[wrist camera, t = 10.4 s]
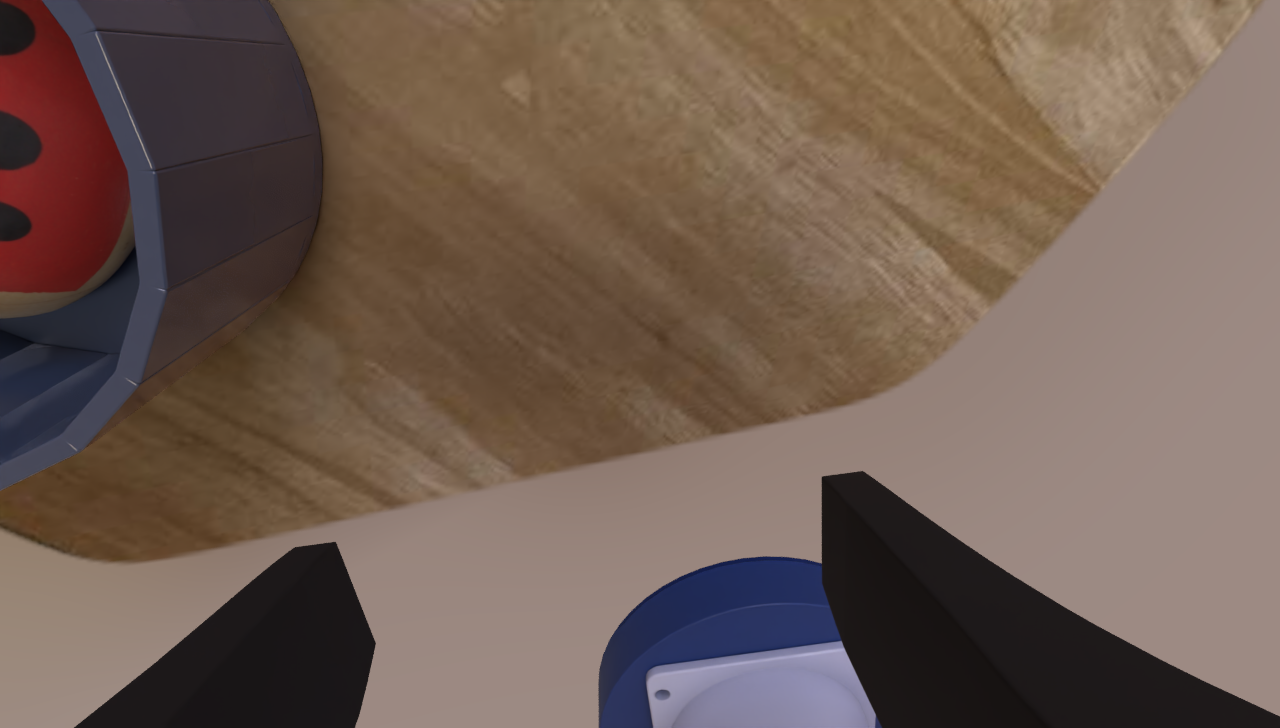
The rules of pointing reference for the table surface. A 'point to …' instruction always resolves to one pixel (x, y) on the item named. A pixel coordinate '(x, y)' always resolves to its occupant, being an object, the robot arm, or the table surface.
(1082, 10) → the table surface
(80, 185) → the ladybug figurine
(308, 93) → the round open container
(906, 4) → the table surface
